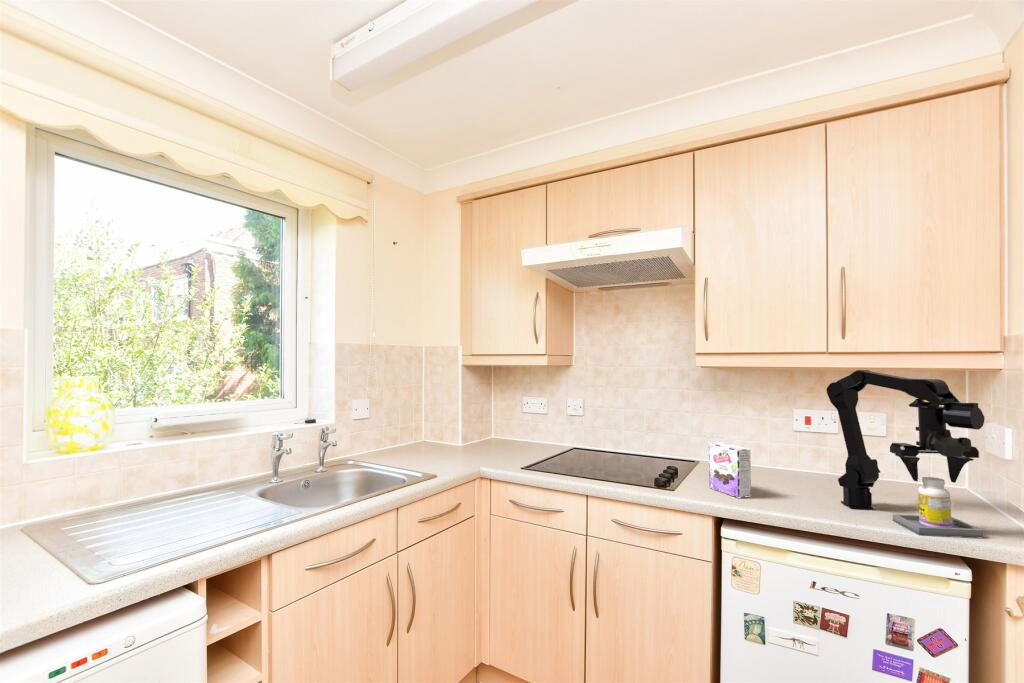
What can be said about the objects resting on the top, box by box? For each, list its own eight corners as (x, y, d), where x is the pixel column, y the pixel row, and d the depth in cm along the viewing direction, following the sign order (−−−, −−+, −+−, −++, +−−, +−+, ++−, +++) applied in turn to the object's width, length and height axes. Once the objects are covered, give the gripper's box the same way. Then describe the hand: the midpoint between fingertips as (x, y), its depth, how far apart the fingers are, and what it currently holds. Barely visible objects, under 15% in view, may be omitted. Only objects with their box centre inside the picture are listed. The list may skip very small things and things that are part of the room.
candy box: (708, 488, 172) (707, 442, 173) (721, 486, 175) (720, 441, 175) (738, 498, 160) (737, 449, 160) (752, 497, 162) (751, 448, 162)
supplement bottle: (918, 520, 135) (917, 474, 136) (950, 525, 131) (948, 478, 132) (919, 526, 130) (917, 479, 131) (952, 532, 126) (950, 483, 127)
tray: (919, 535, 126) (919, 527, 126) (892, 521, 137) (892, 514, 137) (983, 538, 124) (983, 530, 124) (951, 523, 135) (951, 516, 135)
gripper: (914, 428, 125) (916, 488, 124) (995, 429, 122) (998, 490, 122) (887, 422, 136) (889, 477, 135) (961, 423, 133) (963, 480, 133)
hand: (934, 481), depth 131 cm, fingers open, 9 cm apart
